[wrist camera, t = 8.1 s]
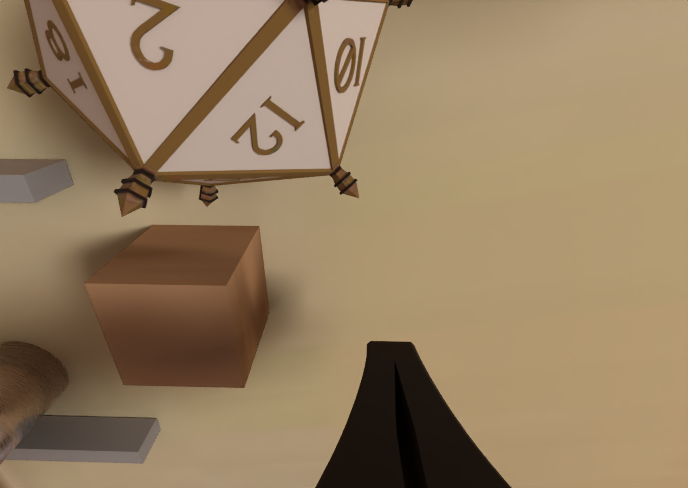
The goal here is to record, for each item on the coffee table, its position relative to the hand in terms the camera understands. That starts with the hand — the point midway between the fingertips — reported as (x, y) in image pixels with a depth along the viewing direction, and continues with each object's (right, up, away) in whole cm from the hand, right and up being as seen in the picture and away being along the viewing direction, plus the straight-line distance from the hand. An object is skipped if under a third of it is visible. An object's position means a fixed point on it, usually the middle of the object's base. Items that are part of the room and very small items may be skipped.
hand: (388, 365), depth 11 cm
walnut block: (-7, +3, +5) cm, 9 cm away
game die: (-4, +11, +1) cm, 11 cm away
